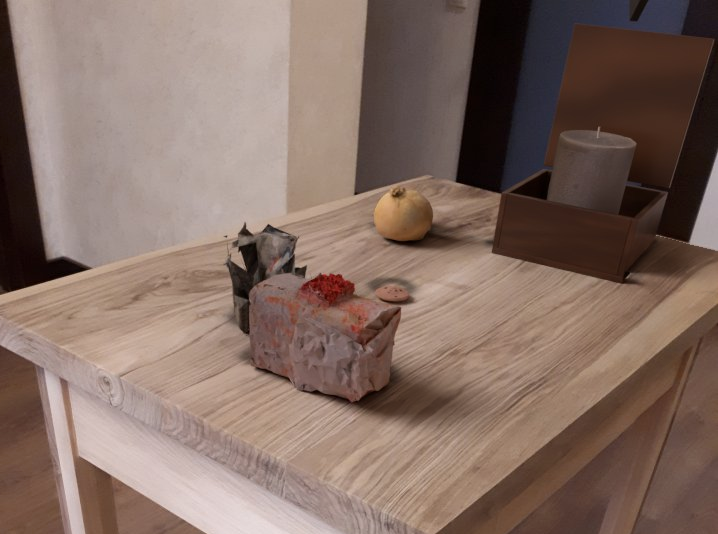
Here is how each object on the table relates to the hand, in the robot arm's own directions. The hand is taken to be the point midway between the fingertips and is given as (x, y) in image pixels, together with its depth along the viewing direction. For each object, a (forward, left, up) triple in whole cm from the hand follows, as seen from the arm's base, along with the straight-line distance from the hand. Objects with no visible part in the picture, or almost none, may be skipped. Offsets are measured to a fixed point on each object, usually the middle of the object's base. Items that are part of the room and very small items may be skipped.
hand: (703, 13), depth 76 cm
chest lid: (+11, -25, -13) cm, 30 cm away
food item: (+19, +37, -30) cm, 51 cm away
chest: (+11, -16, -30) cm, 35 cm away
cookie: (+23, +15, -30) cm, 40 cm away
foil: (+31, +27, -30) cm, 51 cm away
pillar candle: (+11, -15, -29) cm, 35 cm away
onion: (+32, -5, -30) cm, 44 cm away
